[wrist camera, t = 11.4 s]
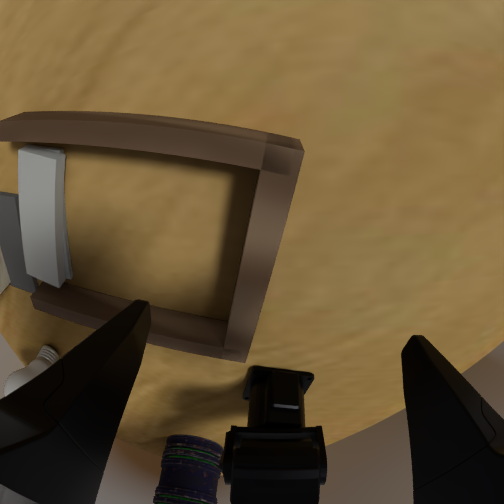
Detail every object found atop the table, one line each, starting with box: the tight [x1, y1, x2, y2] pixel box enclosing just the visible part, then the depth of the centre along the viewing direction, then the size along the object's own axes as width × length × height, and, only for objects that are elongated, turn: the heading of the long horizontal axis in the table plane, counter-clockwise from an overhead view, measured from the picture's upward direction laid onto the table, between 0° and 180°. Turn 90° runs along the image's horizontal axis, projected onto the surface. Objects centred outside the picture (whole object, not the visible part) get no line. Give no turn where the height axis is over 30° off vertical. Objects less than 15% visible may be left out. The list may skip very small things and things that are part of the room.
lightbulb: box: [4, 345, 59, 397], centre depth 27 cm, size 6×6×11 cm
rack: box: [0, 111, 305, 363], centre depth 21 cm, size 18×20×3 cm
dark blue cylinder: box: [153, 435, 223, 504], centre depth 38 cm, size 10×10×15 cm
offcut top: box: [18, 145, 66, 288], centre depth 21 cm, size 12×4×1 cm, turn 161°
